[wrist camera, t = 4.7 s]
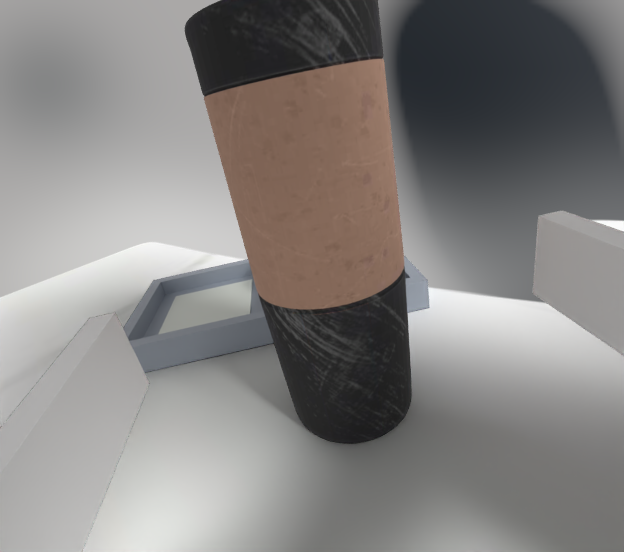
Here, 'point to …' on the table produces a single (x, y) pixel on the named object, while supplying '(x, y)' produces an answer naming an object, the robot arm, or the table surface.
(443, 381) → the table surface
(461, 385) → the table surface
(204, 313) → the dock
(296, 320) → the travel mug
